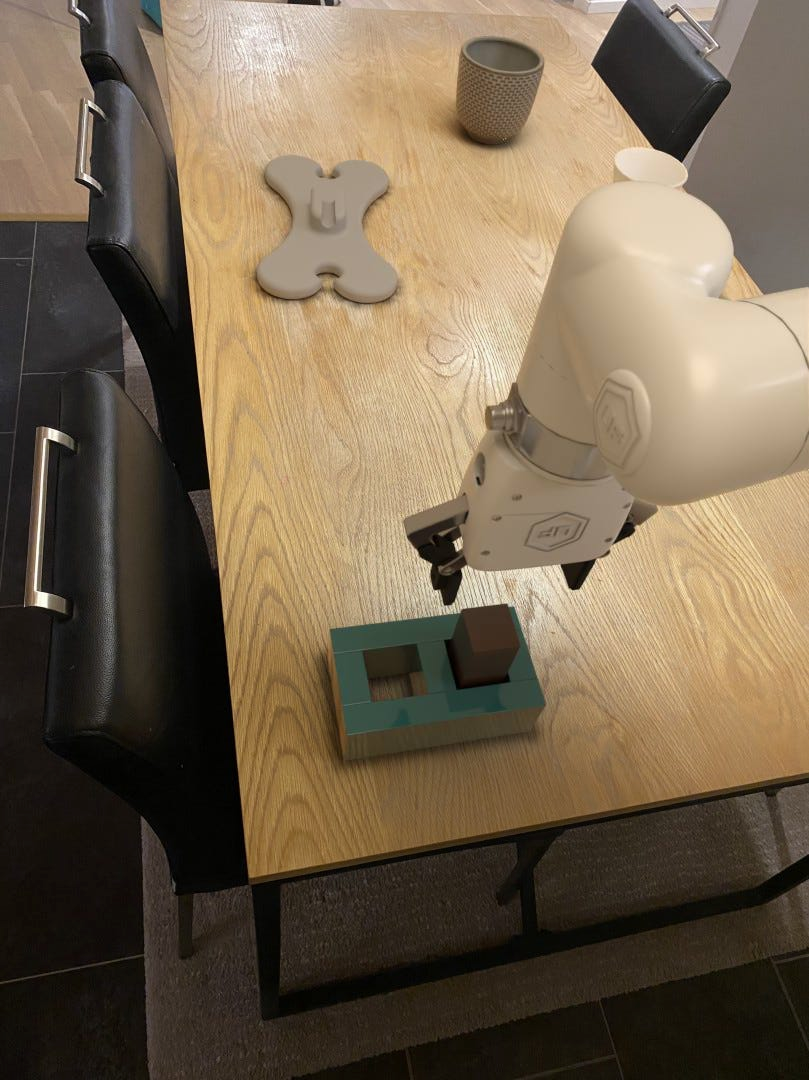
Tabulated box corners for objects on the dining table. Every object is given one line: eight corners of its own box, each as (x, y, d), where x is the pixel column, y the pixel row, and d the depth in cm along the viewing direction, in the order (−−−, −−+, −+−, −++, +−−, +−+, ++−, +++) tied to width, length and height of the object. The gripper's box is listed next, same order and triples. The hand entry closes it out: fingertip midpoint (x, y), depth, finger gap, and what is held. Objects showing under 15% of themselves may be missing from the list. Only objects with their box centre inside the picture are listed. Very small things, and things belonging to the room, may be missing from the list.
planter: (531, 125, 137) (550, 46, 126) (520, 162, 129) (539, 81, 118) (456, 108, 138) (469, 28, 127) (441, 144, 129) (453, 61, 119)
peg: (491, 706, 70) (521, 645, 60) (449, 712, 69) (473, 652, 60) (480, 667, 72) (507, 602, 63) (439, 673, 72) (461, 608, 62)
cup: (643, 235, 120) (678, 150, 109) (658, 276, 114) (696, 190, 103) (579, 230, 119) (607, 143, 108) (591, 271, 112) (622, 183, 102)
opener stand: (529, 731, 69) (546, 704, 64) (343, 761, 66) (346, 735, 61) (500, 636, 75) (514, 605, 70) (327, 659, 71) (329, 628, 66)
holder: (255, 299, 100) (253, 266, 96) (266, 163, 120) (265, 131, 116) (398, 306, 103) (402, 275, 99) (386, 172, 122) (389, 141, 118)
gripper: (439, 483, 38) (402, 640, 52) (742, 457, 42) (632, 611, 56) (410, 379, 42) (382, 551, 56) (688, 363, 46) (597, 528, 60)
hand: (506, 580), depth 56 cm, fingers open, 9 cm apart
